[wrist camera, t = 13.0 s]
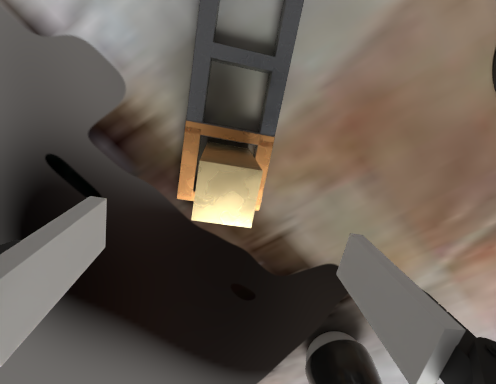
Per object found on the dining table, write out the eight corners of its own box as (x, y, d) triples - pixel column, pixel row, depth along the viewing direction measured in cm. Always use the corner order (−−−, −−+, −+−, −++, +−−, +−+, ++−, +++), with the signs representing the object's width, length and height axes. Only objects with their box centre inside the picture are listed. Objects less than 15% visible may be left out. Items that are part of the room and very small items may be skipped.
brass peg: (248, 148, 32) (263, 171, 20) (241, 186, 33) (251, 227, 22) (207, 141, 31) (199, 160, 20) (202, 180, 32) (191, 219, 21)
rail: (303, -18, 27) (310, -28, 25) (256, 204, 34) (258, 210, 32) (207, -45, 25) (206, -58, 23) (180, 192, 33) (177, 198, 30)
